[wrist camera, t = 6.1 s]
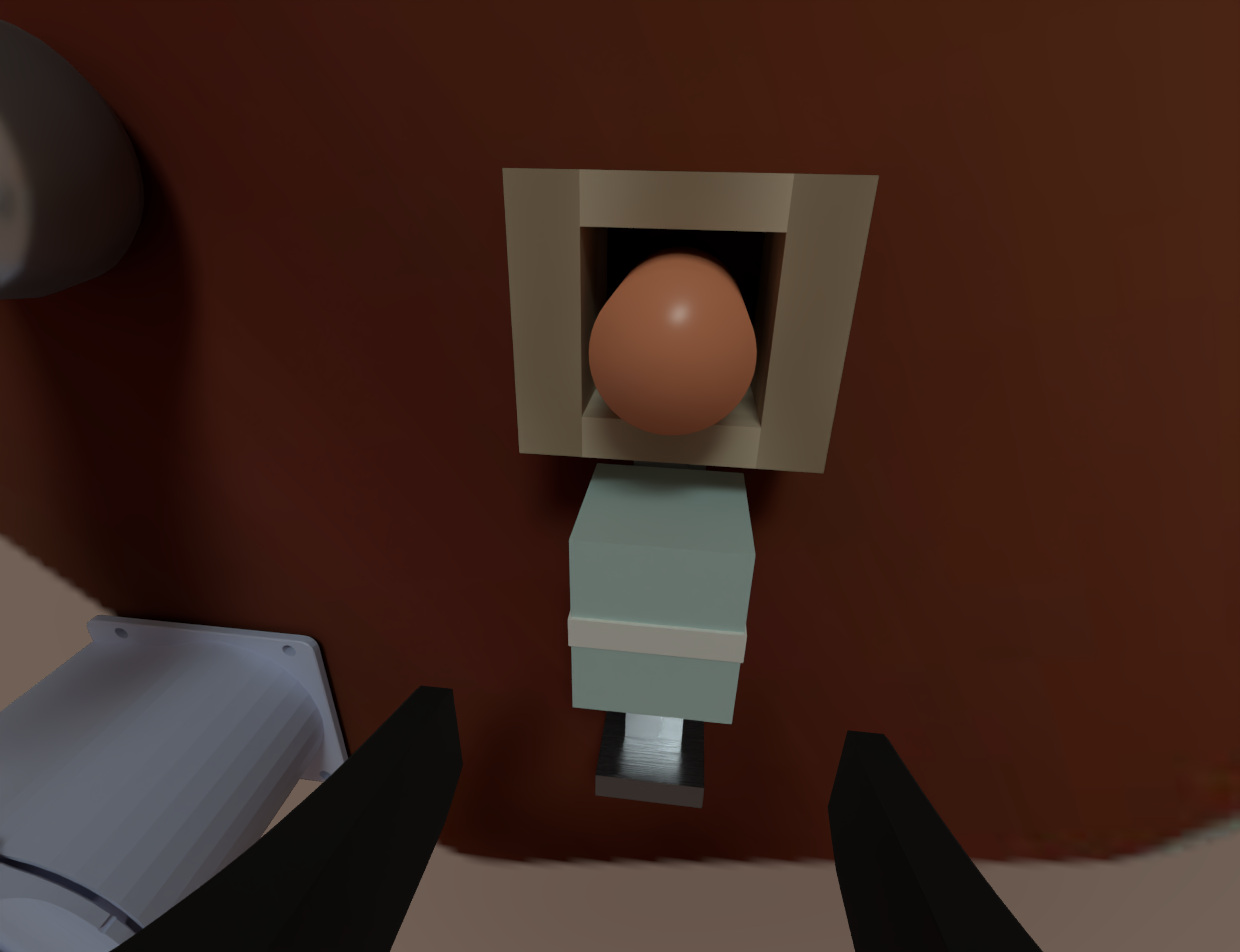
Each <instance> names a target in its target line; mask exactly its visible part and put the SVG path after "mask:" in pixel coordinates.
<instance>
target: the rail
mask: <svg viewBox="0 0 1240 952" xmlns="http://www.w3.org/2000/svg"><path fill="white" fill-rule="evenodd" d="M634 466H646V467H661V468H675V469H690V470H705V471H706V465H694V464H679V463H664V462H649V461H634ZM596 795H598V796H606V797H614V798H623V799H631V800H639V801H647V802H655V803H663V804H671V805H680V806H688V807H696V808H702V803H703V795H704V721H697V720H688V719H679V718H669V717H660V716H651V715H642V714H633V713H623V712H614V711H607V713H606V719H605V724H604V730H603V736H602V742H601V747H600V753H599V759H598V764H597V770H596Z"/></svg>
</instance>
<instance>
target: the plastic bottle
mask: <svg viewBox="0 0 1240 952" xmlns="http://www.w3.org/2000/svg"><path fill="white" fill-rule="evenodd" d="M143 208H144V186H143V180H142V175H141V170H140V165H139V162H138V159H137V156H136V154H135V151H134V148H133V146H132V143H131V140H130V138H129V137H128V135H127V133H126V131H125V129H124V127H123V126H122V124H121V122H120V120H119V118H118V117H117V116H116V114H115V113H114V111H113V110H112V109H111V107H110V106H109V105H108V103H107V102H106V101H105V99H104V98H103V97H102V96H101V95H100V94H99V93H98V92H97V90H96V89H95V88H94V87H93V86H92V85H91V84H90V83H89V82H88V81H87V80H86V79H85V78H84V77H83V76H82V75H81V74H80V73H79V72H78V71H77V70H76V69H75V68H74V67H73V66H72V65H71V64H70V63H69V62H68V61H67V60H66V59H64V58H63V57H62V56H60V55H59V54H58V53H57V52H55V51H54V50H53V49H52V48H50V47H49V46H48V45H47V44H45V43H44V42H43V41H42V40H40V39H38V38H36V37H35V36H33V35H31V34H29V33H28V32H26V31H24V30H22V29H21V28H19V27H17V26H15V25H13V24H10V23H8V22H5V21H3V20H0V300H2V299H22V298H39V297H44V296H47V295H50V294H53V293H56V292H59V291H62V290H65V289H67V288H70V287H72V286H75V285H78V284H80V283H83V282H86V281H88V280H91V279H93V278H96V277H99V276H101V275H103V274H104V273H105V272H107V271H108V270H110V269H111V268H113V267H114V266H116V264H117V263H118V262H119V261H120V260H121V258H122V257H123V256H124V255H125V253H126V252H127V250H128V249H129V247H130V245H131V243H132V241H133V239H134V237H135V235H136V232H137V230H138V228H139V225H140V223H141V219H142V213H143Z"/></svg>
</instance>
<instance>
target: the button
mask: <svg viewBox="0 0 1240 952" xmlns="http://www.w3.org/2000/svg"><path fill="white" fill-rule="evenodd" d="M756 356H757V348H756V339H755V334H754V330H753V327H752V324H751V321H750V318H749V315H748V312H747V309H746V307H745V304H744V301H743V298H742V295H741V292H740V290H739V287H738V284H737V282H736V280H735V278H734V276H733V275H732V273H731V272H730V271H729V269H728V268H727V267H726V266H725V265H724V264H723V263H722V262H721V261H720V260H718V259H717V258H716V257H714V256H713V255H711V254H709V253H707V252H705V251H702V250H700V249H696V248H692V247H683V246H682V247H670V248H665V249H662V250H659V251H656V252H654V253H652V254H650V255H648V256H647V257H645V258H644V259H642V260H641V261H640V262H639V263H637V264H636V265H635V266H634V268H633V269H632V270H631V271H630V272H629V273H628V275H627V276H626V277H625V279H624V280H623V281H622V283H621V284H620V285H619V287H618V288H617V289H616V290H615V292H614V293H613V294H612V296H611V297H610V298H609V300H608V301H607V302H606V304H605V305H604V307H603V308H602V310H601V311H600V313H599V315H598V317H597V319H596V321H595V323H594V326H593V329H592V332H591V337H590V342H589V365H590V370H591V375H592V378H593V381H594V383H595V386H596V388H597V390H598V392H599V394H600V395H601V397H602V398H603V400H604V401H605V403H606V404H607V405H608V406H609V407H610V409H611V410H612V411H613V412H614V413H615V414H617V415H618V416H619V417H620V418H621V419H623V420H624V421H626V422H627V423H629V424H631V425H633V426H634V427H636V428H639V429H641V430H644V431H646V432H650V433H654V434H660V435H684V434H690V433H694V432H698V431H701V430H703V429H706V428H708V427H710V426H712V425H714V424H716V423H717V422H719V421H720V420H722V419H723V418H725V417H726V416H727V415H728V414H729V413H730V412H731V411H732V410H733V409H734V408H735V407H736V406H737V405H738V404H739V403H740V401H741V400H742V398H743V397H744V395H745V394H746V392H747V390H748V388H749V386H750V384H751V381H752V378H753V375H754V371H755V366H756Z"/></svg>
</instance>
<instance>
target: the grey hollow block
mask: <svg viewBox="0 0 1240 952" xmlns="http://www.w3.org/2000/svg"><path fill="white" fill-rule="evenodd" d="M878 178H879V176H878V175H827V174H777V173H726V172H676V171H625V170H575V169H524V168H503V185H504V202H505V218H506V235H507V252H508V268H509V285H510V301H511V318H512V335H513V351H514V368H515V385H516V401H517V418H518V435H519V451H520V453H530V454H545V455H560V456H575V457H589V458H604V459H619V460H634V461H649V462H664V463H679V464H694V465H709V466H723V467H738V468H753V469H768V470H783V471H798V472H813V473H823V472H824V467H825V462H826V456H827V451H828V446H829V440H830V435H831V430H832V424H833V419H834V413H835V408H836V403H837V397H838V392H839V387H840V381H841V376H842V371H843V365H844V360H845V354H846V349H847V344H848V338H849V333H850V328H851V322H852V317H853V312H854V306H855V301H856V296H857V290H858V285H859V279H860V274H861V269H862V263H863V258H864V253H865V247H866V242H867V237H868V231H869V226H870V220H871V215H872V210H873V204H874V199H875V194H876V188H877V183H878ZM608 227H618V228H652V229H687V230H721V231H755V232H765V236H764V244H763V253H762V262H761V270H760V279H759V288H758V296H757V305H756V313H755V322H754V334H755V339H756V348H757V356H756V366H755V371H754V375H753V378H752V381H751V384H750V386H749V388H748V390H747V392H746V394H745V395H744V397H743V398H742V400H741V401H740V403H739V404H738V405H737V406H736V407H735V408H734V409H733V410H732V411H731V412H730V413H729V414H728V415H727V416H726V417H725V418H723V419H722V420H720V421H719V422H717V423H716V424H714V425H712V426H710V427H708V428H706V429H703V430H701V431H698V432H694V433H690V434H684V435H660V434H654V433H650V432H646V431H644V430H641V429H639V428H636V427H634V426H633V425H631V424H629V423H627V422H626V421H624V420H623V419H621V418H620V417H619V416H618V415H617V414H615V413H614V412H613V411H612V410H611V409H610V407H609V406H608V405H607V404H606V403H605V401H604V400H603V398H602V397H601V395H600V394H599V392H598V390H597V388H596V386H595V383H594V381H593V378H592V375H591V370H590V365H589V342H590V337H591V332H592V329H593V326H594V323H595V321H596V319H597V317H598V315H599V313H600V311H601V310H602V308H603V307H604V305H605V304H606V302H607V237H608Z"/></svg>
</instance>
